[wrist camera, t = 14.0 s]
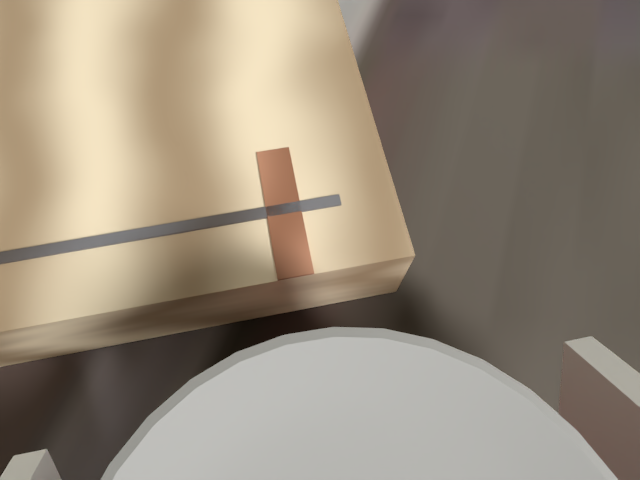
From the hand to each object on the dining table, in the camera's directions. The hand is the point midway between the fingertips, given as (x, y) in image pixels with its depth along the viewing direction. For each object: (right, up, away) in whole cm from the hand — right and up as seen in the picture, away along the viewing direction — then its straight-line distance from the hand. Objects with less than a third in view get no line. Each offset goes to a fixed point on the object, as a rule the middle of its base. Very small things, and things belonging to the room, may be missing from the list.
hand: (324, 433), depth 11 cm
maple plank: (-13, +9, +10) cm, 19 cm away
